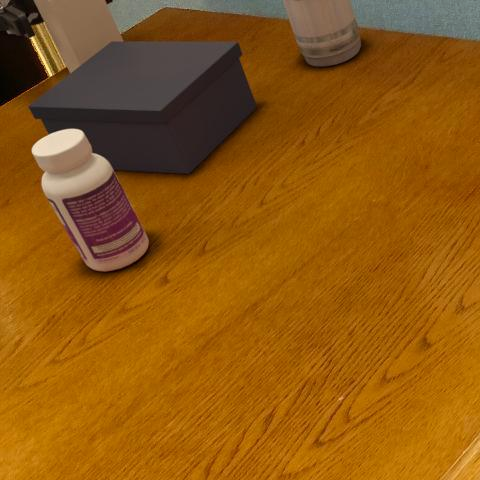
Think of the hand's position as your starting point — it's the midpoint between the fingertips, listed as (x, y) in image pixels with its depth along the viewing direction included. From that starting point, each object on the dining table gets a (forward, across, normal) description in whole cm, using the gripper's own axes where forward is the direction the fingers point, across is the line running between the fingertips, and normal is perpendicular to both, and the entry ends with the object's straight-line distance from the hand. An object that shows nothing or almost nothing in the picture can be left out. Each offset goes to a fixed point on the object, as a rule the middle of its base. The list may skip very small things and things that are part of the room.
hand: (67, 9), depth 99 cm
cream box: (+2, 0, +8) cm, 8 cm away
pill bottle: (+33, -14, +8) cm, 37 cm away
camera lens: (+18, +18, +8) cm, 26 cm away
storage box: (+17, -2, +8) cm, 19 cm away
